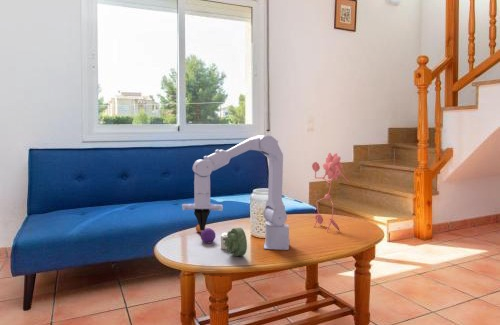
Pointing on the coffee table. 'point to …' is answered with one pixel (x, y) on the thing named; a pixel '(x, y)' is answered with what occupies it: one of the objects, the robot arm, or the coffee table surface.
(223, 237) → the letter cube
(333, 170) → the figurine
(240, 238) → the decorative artifact
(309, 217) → the coffee table surface
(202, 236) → the kendama
